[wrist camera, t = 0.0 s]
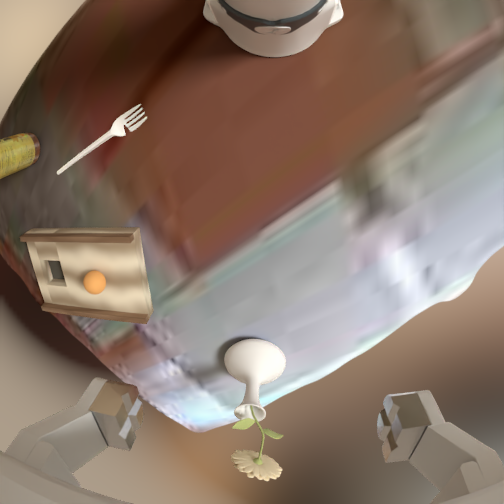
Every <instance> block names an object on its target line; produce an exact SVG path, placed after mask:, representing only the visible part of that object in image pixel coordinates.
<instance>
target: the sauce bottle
mask: <svg viewBox="0 0 504 504" xmlns="http://www.w3.org/2000/svg"><path fill="white" fill-rule="evenodd" d="M39 154H40V143H39V141H38V138H37V137H36V136H35V135H34V134H32V133H21V134H17V135H14V136H10V137H7V138H3V139H0V179H1V178H3V177H5V176H8V175H10V174H12V173H15V172H17V171H19V170H22V169H24V168H27V167H29V166H30V165H32V164H34V163H35V162H36V161H37V160H38V157H39Z"/></svg>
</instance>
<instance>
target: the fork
mask: <svg viewBox="0 0 504 504" xmlns="http://www.w3.org/2000/svg"><path fill="white" fill-rule="evenodd" d="M140 105H141V104H139V105H137V106H135V107H134V108H132V109H130V110H129V111H127V112H126V113H124V114H123V115H121V116H120V117H118V118H117V119H116V120H115V121H114V123H113V125H112V127H111V129H110V130H109V131H108V132H107V133H105V134H104V135H103V136H101V137H100V138H99V139H97V140H96V141H95V142H93V143H92V144H91V145H89V146H88V147H87V148H86V149H84V150H83V151H82V152H80V153H79V154H78V155H77V156H75V157H74V158H73V159H72V160H71V161H69V162H68V163H67V164H66V165H64V166H63V167H62V168H61V169H60V170H58V171H57V174H58V175H59V174H60V173H62V172H63V171H64V170H66V169H67V168H68V167H70V166H71V165H72V164H74V163H75V162H76V161H78V160H79V159H81V158H82V157H83V156H85V155H86V154H88V153H89V152H91V151H92V150H94V149H95V148H97V147H98V146H99V145H101V144H102V143H104V142H105V141H107V140H108V139H110V138H111V137H113V136H125V130H124V125H126V126H127V127H128V126H130V125H131V124H133V123H134V122H136V121H137V120H138V119H139V118H140V117H141V116H143V115H144V114H145V112H143V113H142V114H140V115H139V116H138V117H136V118H135V119H134V120H132V121H131V122H130V123H128V124H126V123H127V122H128V121H129V120H131V119H132V118H133V117H135V116H136V115H137V114H138V113H139V112H140V111H141V110H142V109H143V108H141V109H139V110H138V111H137V112H136V113H134V114H133V115H132V116H130V117H129V118H128V119H126V120H125V118H126V117H127V116H129V115H130V114H131V113H133V112H134V111H135V110H136V109H137V108H138V107H139V106H140ZM146 119H147V117H145V118H144V119H142V120H141V121H139V122H138V123H136V124H135V125H133V126H132V127H130V128H129V130H130V131H131V132H132V131H133V130H135V129H137V128H138V127H139V126H140V125H141V124H142V123H143V122H144V121H145V120H146Z"/></svg>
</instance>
